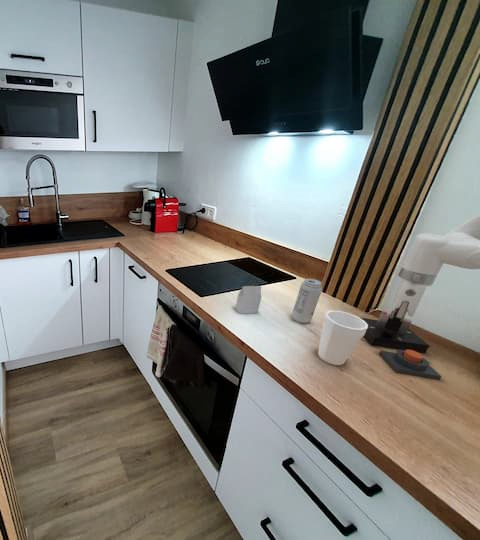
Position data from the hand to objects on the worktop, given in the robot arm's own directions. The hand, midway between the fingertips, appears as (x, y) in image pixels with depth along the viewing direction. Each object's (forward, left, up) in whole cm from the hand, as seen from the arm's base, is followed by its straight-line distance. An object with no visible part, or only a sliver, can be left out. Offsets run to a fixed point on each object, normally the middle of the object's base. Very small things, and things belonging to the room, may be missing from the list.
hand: (391, 327), depth 91 cm
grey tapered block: (+42, -5, -4) cm, 43 cm away
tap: (0, 0, -1) cm, 1 cm away
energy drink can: (+24, -4, -4) cm, 25 cm away
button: (+2, +14, -1) cm, 14 cm away
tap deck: (0, 0, -4) cm, 4 cm away
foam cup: (+22, +16, -4) cm, 28 cm away
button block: (+2, +14, -4) cm, 15 cm away
